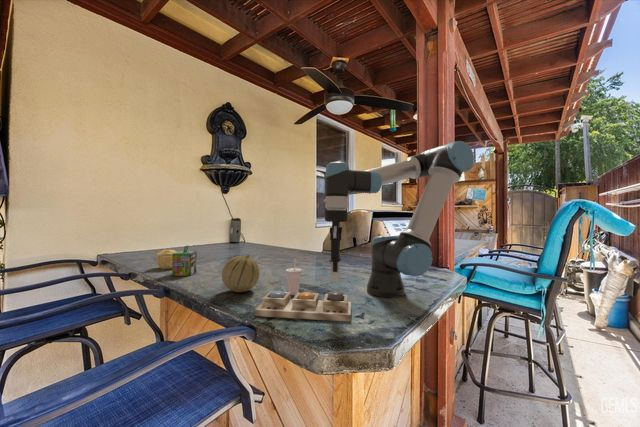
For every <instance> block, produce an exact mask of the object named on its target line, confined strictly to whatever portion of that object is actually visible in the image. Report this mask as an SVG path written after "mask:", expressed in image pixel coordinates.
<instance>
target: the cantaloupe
mask: <svg viewBox="0 0 640 427" xmlns="http://www.w3.org/2000/svg"><path fill="white" fill-rule="evenodd" d="M259 278H260V268H259V265H258V263H257V262H256V261H255V259H253V258H252V257H250V254H247V255H246V256H245V255H237V256H234V257H232V258H231V259H229V260H228V261H227V262H226V263H225V265H224V266H223V268H222V270H221V281H222V283H223V285H224V286H225V287H226V288H227V290H230V291H232V292H235V293H245V292H249V291H250V290H252V289H253V288H254V287H255V286H256V285H257V282H258V280H259Z"/></svg>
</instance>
